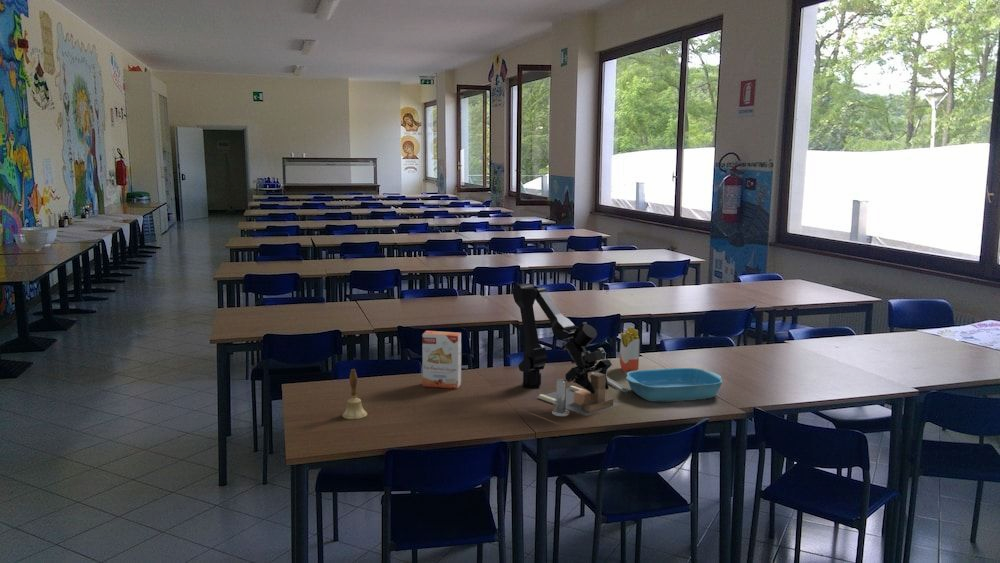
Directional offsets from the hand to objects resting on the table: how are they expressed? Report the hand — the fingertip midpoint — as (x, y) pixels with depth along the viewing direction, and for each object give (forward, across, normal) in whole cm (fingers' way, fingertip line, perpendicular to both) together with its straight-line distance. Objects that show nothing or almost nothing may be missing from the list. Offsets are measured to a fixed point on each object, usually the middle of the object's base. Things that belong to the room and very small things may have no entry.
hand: (600, 391), depth 251 cm
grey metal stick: (+1, -14, +9) cm, 16 cm away
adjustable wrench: (-8, +26, +19) cm, 33 cm away
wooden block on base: (+4, 0, +6) cm, 7 cm away
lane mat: (-3, 0, +13) cm, 13 cm away
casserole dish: (+9, +35, +2) cm, 36 cm away
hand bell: (-30, -69, +40) cm, 84 cm away
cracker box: (-35, -27, +45) cm, 63 cm away
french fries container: (-13, +44, +22) cm, 51 cm away
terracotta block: (-1, 0, +10) cm, 10 cm away
